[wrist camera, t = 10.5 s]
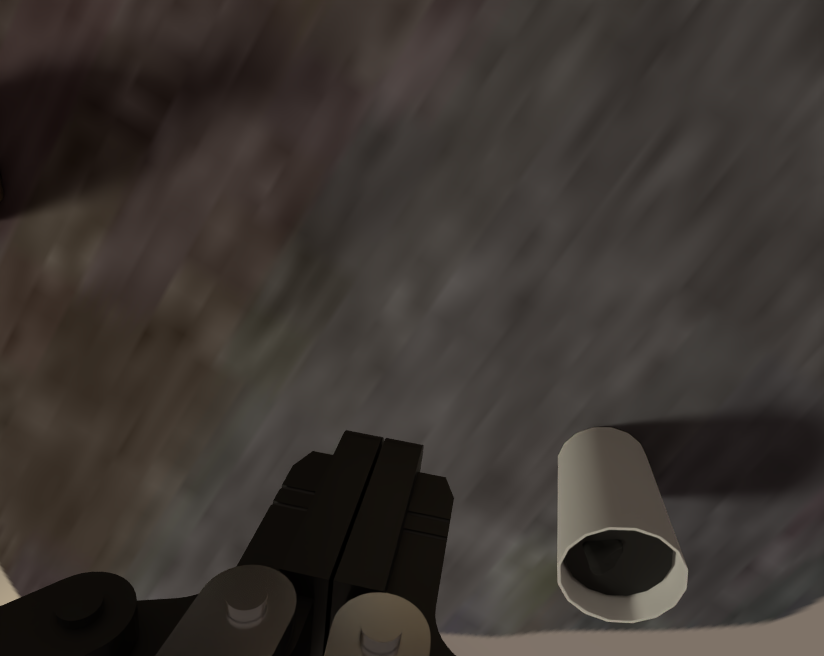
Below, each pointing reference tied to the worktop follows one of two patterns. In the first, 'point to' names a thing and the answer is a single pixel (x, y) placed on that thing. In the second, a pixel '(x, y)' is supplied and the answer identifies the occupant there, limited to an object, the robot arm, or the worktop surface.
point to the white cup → (614, 530)
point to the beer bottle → (1, 191)
